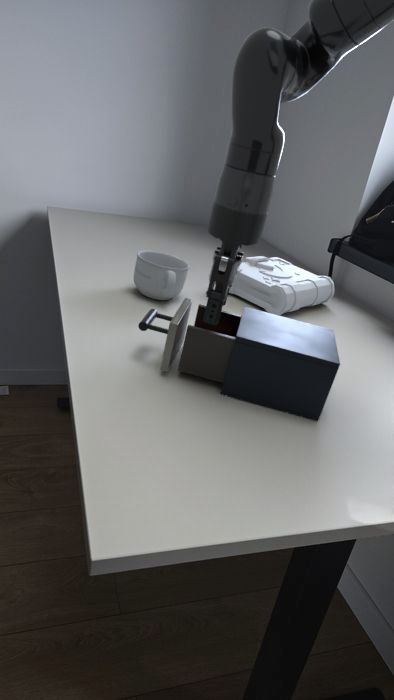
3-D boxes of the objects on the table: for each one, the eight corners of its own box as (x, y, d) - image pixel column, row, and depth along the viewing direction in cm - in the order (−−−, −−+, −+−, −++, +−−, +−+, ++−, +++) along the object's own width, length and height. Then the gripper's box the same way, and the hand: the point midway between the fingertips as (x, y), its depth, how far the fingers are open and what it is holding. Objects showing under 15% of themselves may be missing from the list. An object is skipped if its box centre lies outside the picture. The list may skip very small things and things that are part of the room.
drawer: (128, 361, 73) (136, 313, 70) (148, 332, 83) (156, 289, 80) (248, 394, 72) (262, 347, 69) (254, 361, 82) (266, 319, 79)
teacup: (131, 281, 107) (137, 245, 103) (180, 289, 109) (187, 254, 105) (130, 306, 94) (136, 266, 91) (185, 315, 96) (194, 276, 93)
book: (339, 303, 124) (350, 275, 121) (279, 321, 104) (289, 287, 101) (277, 276, 135) (286, 249, 131) (212, 287, 115) (219, 255, 111)
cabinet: (220, 394, 72) (236, 336, 68) (230, 358, 83) (244, 306, 79) (318, 421, 71) (340, 364, 67) (314, 381, 82) (333, 329, 78)
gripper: (265, 219, 60) (233, 337, 67) (270, 203, 73) (243, 304, 80) (206, 205, 61) (180, 323, 68) (221, 191, 73) (198, 292, 81)
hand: (214, 313), depth 74 cm, fingers open, 8 cm apart
